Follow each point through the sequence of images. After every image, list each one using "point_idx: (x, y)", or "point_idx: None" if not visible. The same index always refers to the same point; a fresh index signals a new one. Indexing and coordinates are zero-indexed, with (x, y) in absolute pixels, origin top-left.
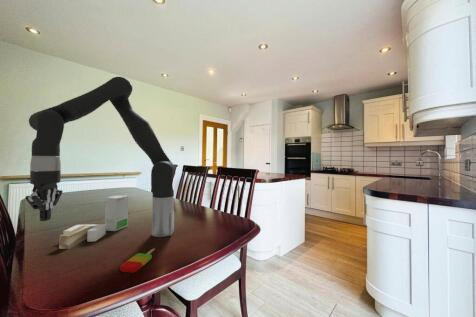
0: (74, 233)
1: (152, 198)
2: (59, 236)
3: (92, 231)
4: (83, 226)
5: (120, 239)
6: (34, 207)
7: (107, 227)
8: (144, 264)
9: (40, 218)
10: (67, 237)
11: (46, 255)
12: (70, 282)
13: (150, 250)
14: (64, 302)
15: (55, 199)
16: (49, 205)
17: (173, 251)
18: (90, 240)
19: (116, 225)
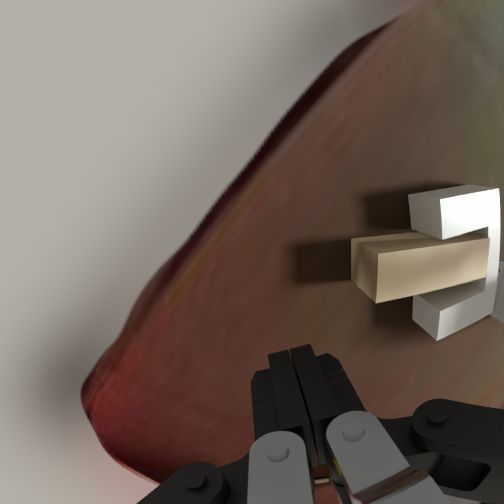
0: (407, 296)
1: (475, 501)
2: (376, 252)
3: (436, 327)
4: (481, 249)
5: (415, 380)
6: (171, 496)
7: (499, 278)
8: None
9: (253, 385)
10: (373, 293)
11: (285, 249)
12: (162, 436)
13: (319, 480)
14: (121, 452)
15: (455, 491)
16: (339, 494)
17: (319, 496)
18: (414, 305)
19: (496, 318)
